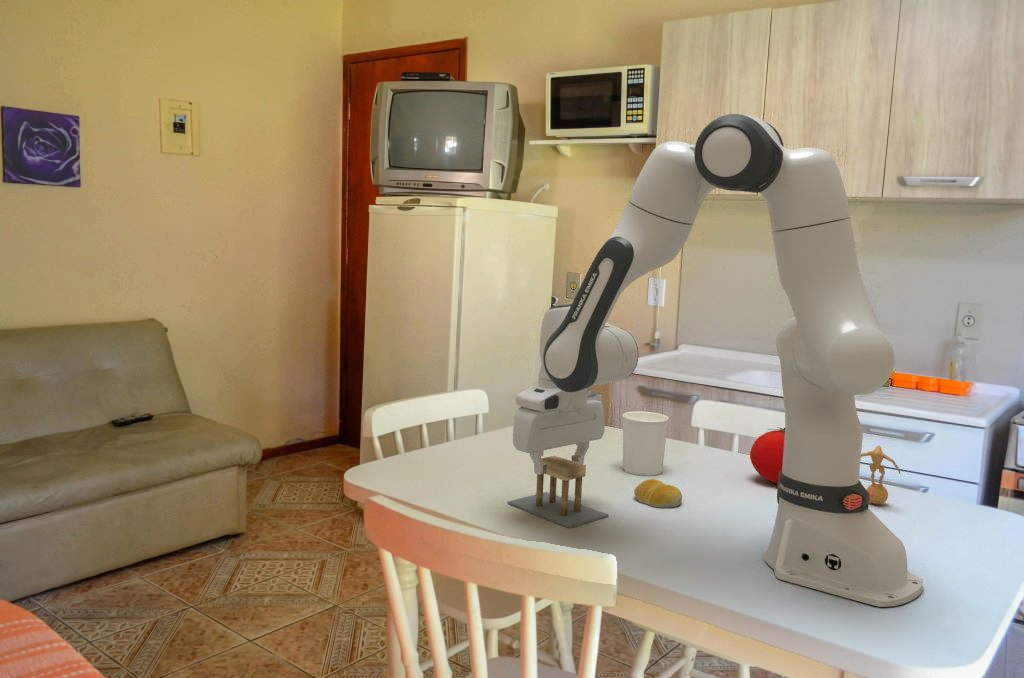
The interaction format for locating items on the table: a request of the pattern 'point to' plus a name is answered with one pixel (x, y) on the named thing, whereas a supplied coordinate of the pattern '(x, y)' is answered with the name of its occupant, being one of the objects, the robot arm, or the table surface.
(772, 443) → the tomato
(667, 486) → the bread roll
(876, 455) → the figurine
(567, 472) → the stool
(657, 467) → the candle holder
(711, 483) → the table surface
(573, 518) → the mat
